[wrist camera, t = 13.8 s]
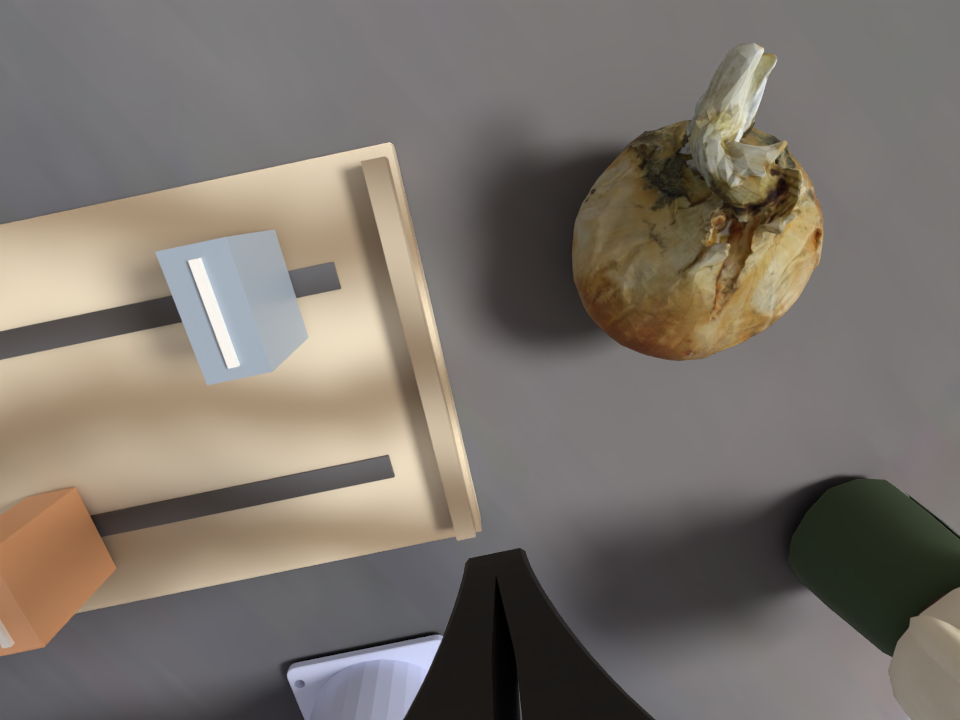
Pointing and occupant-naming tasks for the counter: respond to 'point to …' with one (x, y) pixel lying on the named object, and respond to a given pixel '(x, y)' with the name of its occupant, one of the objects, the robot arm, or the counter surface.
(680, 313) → the onion
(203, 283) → the slate fader
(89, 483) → the birch console
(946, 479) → the counter surface
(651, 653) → the counter surface
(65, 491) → the terracotta fader
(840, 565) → the character mug
